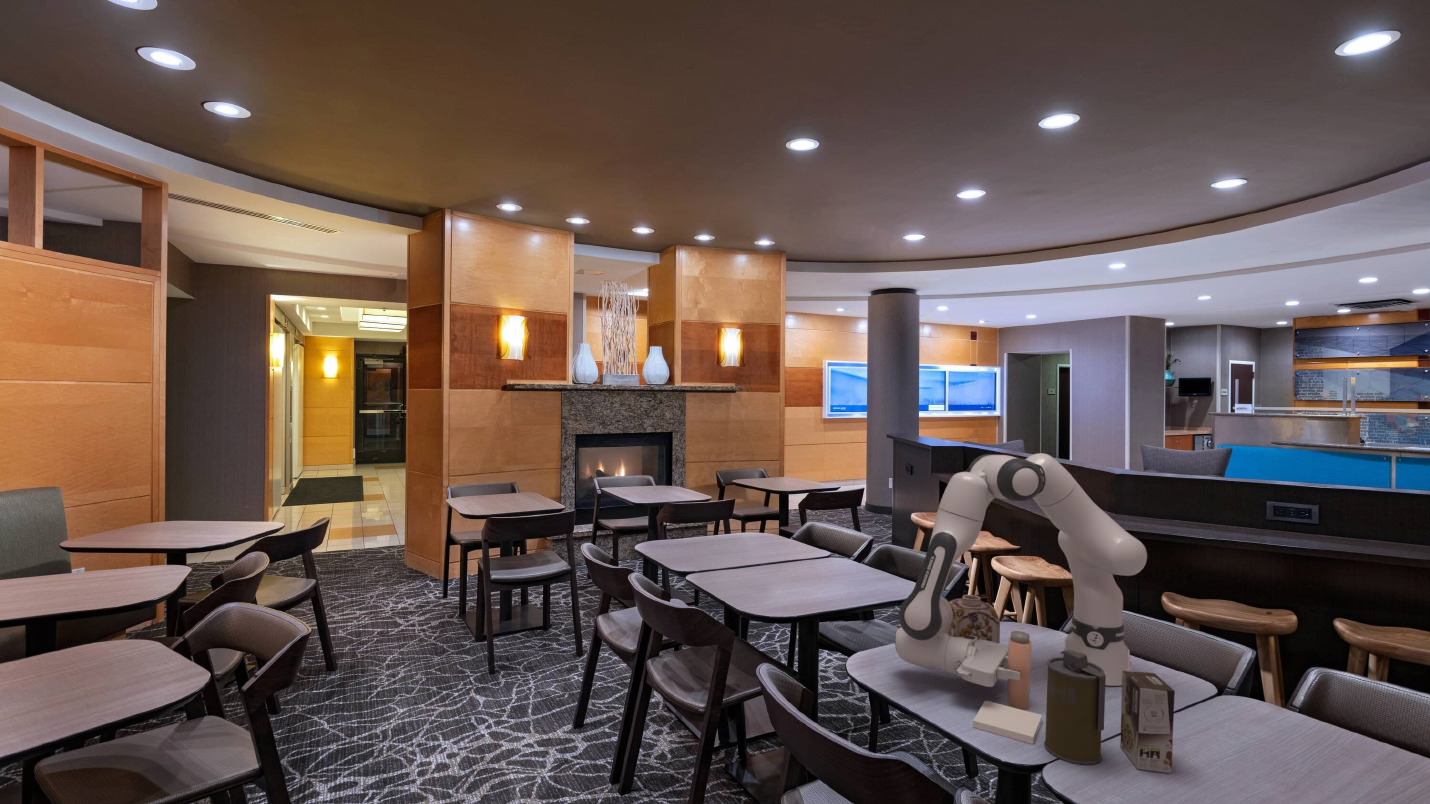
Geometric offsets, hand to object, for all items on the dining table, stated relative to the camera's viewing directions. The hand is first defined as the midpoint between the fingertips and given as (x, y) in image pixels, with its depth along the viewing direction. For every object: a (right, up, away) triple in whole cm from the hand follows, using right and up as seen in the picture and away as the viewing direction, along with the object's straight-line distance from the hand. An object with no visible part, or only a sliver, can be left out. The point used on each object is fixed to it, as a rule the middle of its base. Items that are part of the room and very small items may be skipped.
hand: (1023, 671), depth 159 cm
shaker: (-1, -8, +1) cm, 8 cm away
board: (-8, -8, -9) cm, 14 cm away
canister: (+1, -9, -20) cm, 22 cm away
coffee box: (+14, -9, -23) cm, 28 cm away
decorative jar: (-3, -8, +25) cm, 26 cm away
